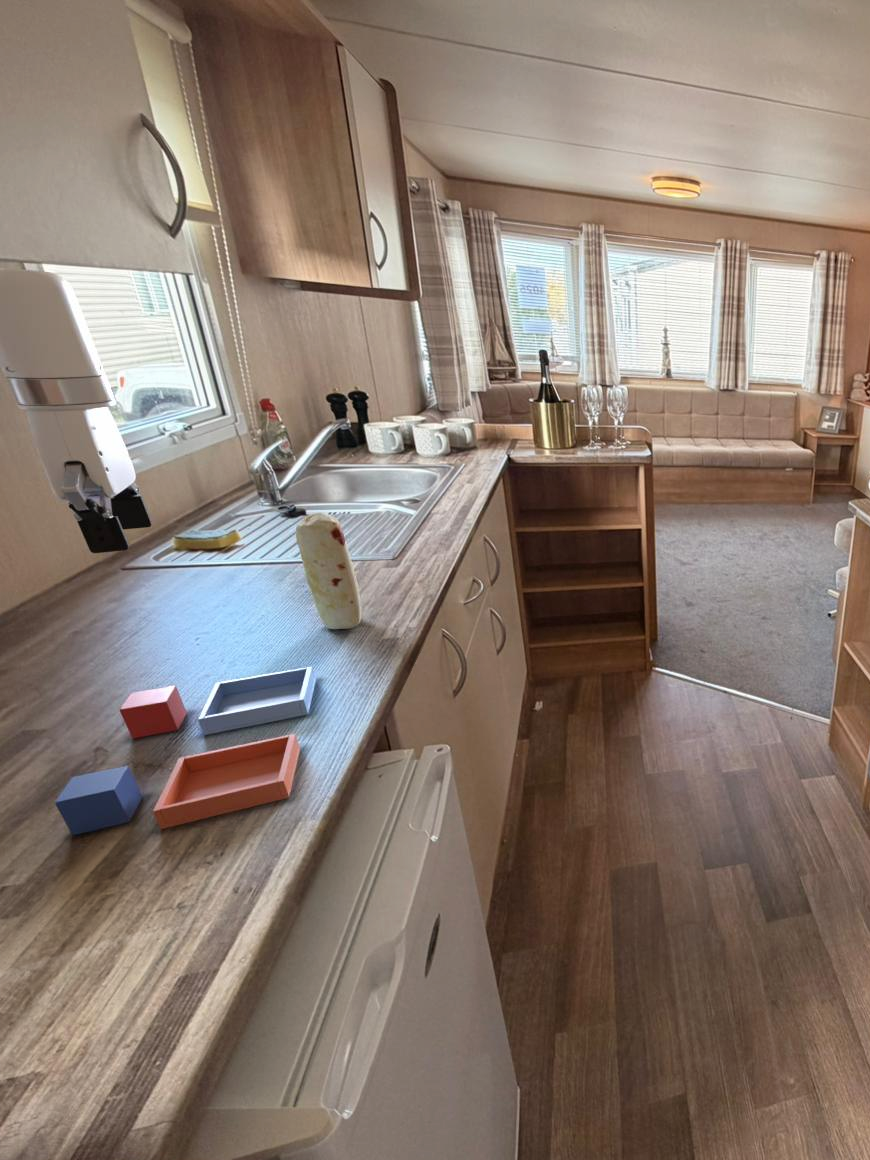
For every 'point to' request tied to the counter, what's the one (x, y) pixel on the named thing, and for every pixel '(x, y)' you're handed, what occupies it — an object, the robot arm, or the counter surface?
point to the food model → (329, 571)
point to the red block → (153, 711)
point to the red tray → (228, 780)
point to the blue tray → (258, 700)
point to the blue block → (99, 800)
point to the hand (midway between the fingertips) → (124, 538)
